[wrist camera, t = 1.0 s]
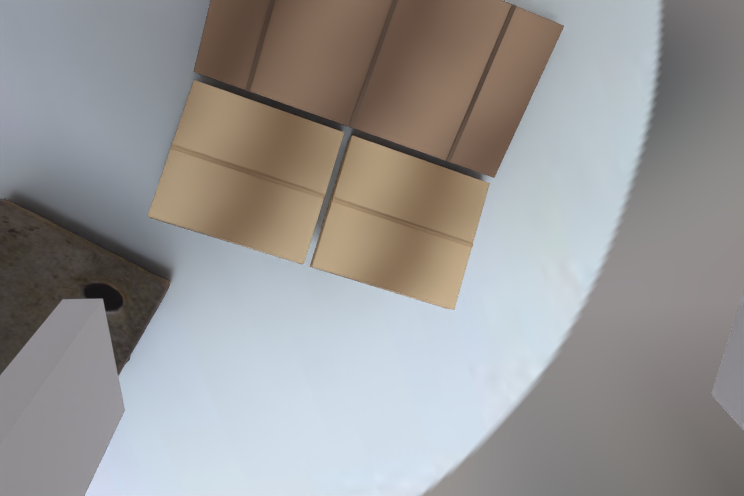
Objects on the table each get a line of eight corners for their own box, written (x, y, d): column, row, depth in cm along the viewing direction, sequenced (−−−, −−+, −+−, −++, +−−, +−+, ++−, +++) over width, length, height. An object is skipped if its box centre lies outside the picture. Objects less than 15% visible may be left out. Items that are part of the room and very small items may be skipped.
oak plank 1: (151, 218, 28) (147, 215, 27) (196, 87, 28) (193, 79, 27) (301, 264, 29) (304, 263, 28) (340, 138, 30) (344, 132, 28)
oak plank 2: (309, 266, 29) (312, 266, 28) (348, 140, 30) (352, 135, 29) (446, 308, 30) (454, 309, 29) (480, 186, 31) (490, 183, 30)
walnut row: (199, 68, 28) (193, 72, 27) (241, -105, 25) (236, -109, 24) (488, 170, 31) (494, 178, 30) (555, 24, 28) (564, 26, 27)
